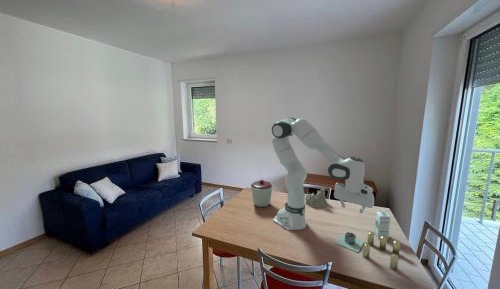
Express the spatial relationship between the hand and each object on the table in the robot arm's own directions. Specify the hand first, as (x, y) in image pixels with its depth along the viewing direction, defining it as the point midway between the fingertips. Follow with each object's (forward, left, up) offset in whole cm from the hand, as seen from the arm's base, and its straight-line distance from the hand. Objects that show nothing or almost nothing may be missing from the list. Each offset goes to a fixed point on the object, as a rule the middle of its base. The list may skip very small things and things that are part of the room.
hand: (352, 209), depth 117 cm
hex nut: (0, 0, -20) cm, 20 cm away
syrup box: (+12, +19, -21) cm, 31 cm away
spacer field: (+15, 0, -21) cm, 26 cm away
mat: (0, 0, -21) cm, 21 cm away
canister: (-70, +5, -21) cm, 73 cm away
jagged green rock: (-37, +35, -21) cm, 55 cm away
